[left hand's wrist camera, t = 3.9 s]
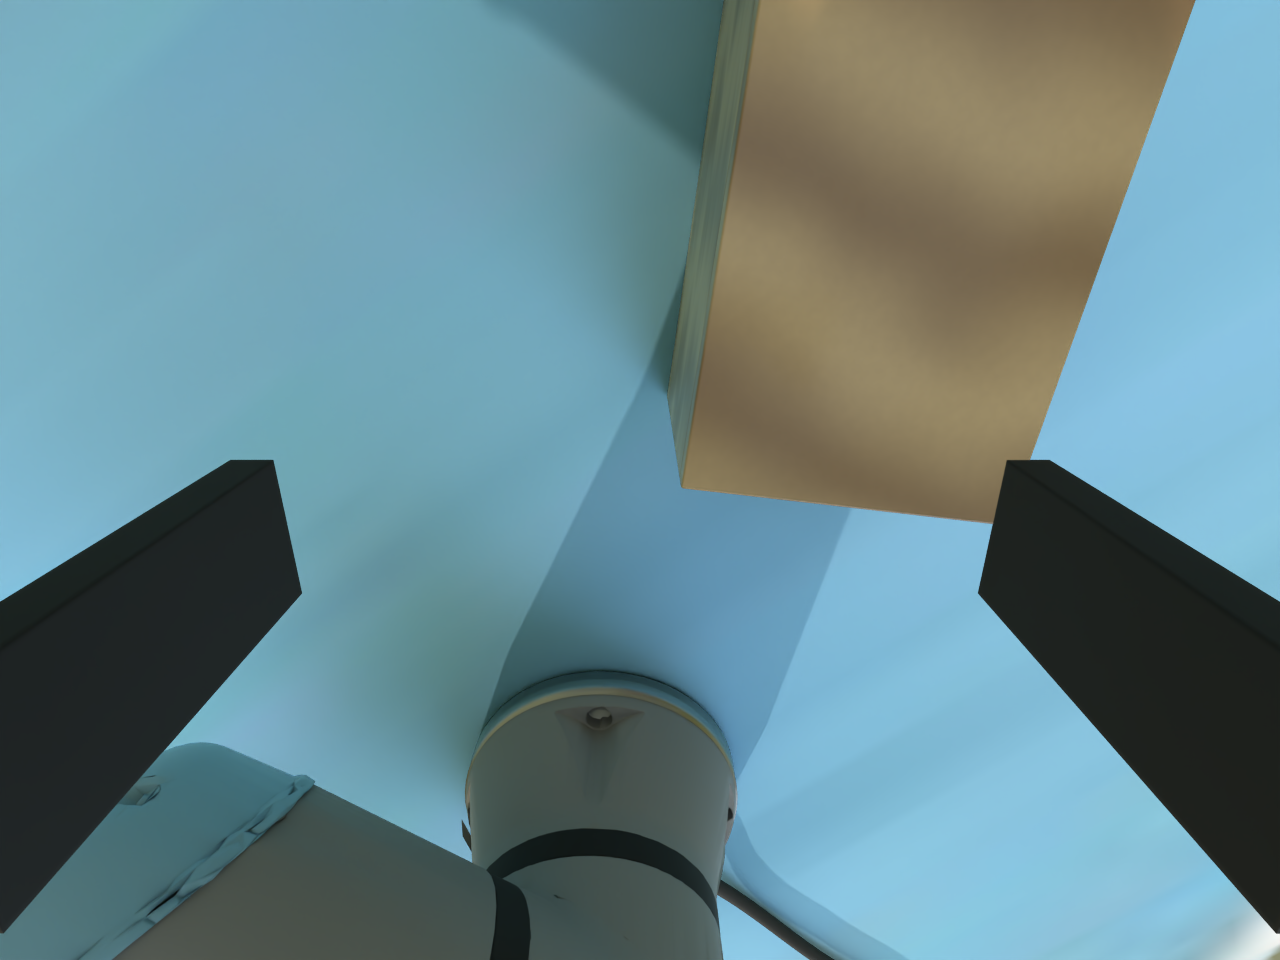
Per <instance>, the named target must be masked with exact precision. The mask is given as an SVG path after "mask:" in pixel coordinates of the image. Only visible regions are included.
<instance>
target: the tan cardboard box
mask: <svg viewBox="0 0 1280 960" xmlns="http://www.w3.org/2000/svg"><path fill="white" fill-rule="evenodd" d="M1194 3H1195V0H724V3H723V10H722V17H721V24H720V31H719V38H718V45H717V52H716V59H715V66H714V73H713V80H712V86H711V93H710V100H709V107H708V114H707V121H706V128H705V135H704V142H703V149H702V156H701V163H700V170H699V177H698V184H697V191H696V198H695V205H694V212H693V219H692V226H691V233H690V240H689V247H688V254H687V261H686V268H685V275H684V282H683V289H682V296H681V303H680V310H679V317H678V323H677V330H676V337H675V344H674V351H673V358H672V365H671V372H670V379H669V386H668V393H667V398H668V404H669V411H670V418H671V424H672V431H673V437H674V444H675V450H676V457H677V463H678V470H679V476H680V482H681V487H682V488H685V489H694V490H703V491H711V492H720V493H729V494H737V495H746V496H755V497H763V498H772V499H781V500H789V501H798V502H807V503H815V504H824V505H833V506H841V507H850V508H859V509H867V510H876V511H885V512H894V513H902V514H911V515H920V516H928V517H937V518H946V519H954V520H963V521H972V522H980V523H989V524H993V521H994V517H995V512H996V507H997V503H998V498H999V493H1000V489H1001V484H1002V479H1003V475H1004V470H1005V466H1006V461H1007V460H1030V458H1031V455H1032V453H1033V450H1034V447H1035V444H1036V441H1037V439H1038V436H1039V433H1040V430H1041V428H1042V425H1043V422H1044V419H1045V416H1046V414H1047V411H1048V408H1049V405H1050V403H1051V400H1052V397H1053V394H1054V391H1055V389H1056V386H1057V383H1058V380H1059V378H1060V375H1061V372H1062V369H1063V367H1064V364H1065V361H1066V358H1067V355H1068V353H1069V350H1070V347H1071V344H1072V342H1073V339H1074V336H1075V333H1076V330H1077V328H1078V325H1079V322H1080V319H1081V317H1082V314H1083V311H1084V308H1085V305H1086V303H1087V300H1088V297H1089V294H1090V292H1091V289H1092V286H1093V283H1094V280H1095V278H1096V275H1097V272H1098V269H1099V267H1100V264H1101V261H1102V258H1103V255H1104V253H1105V250H1106V247H1107V244H1108V242H1109V239H1110V236H1111V233H1112V231H1113V228H1114V225H1115V222H1116V219H1117V217H1118V214H1119V211H1120V208H1121V206H1122V203H1123V200H1124V197H1125V194H1126V192H1127V189H1128V186H1129V183H1130V181H1131V178H1132V175H1133V172H1134V169H1135V167H1136V164H1137V161H1138V158H1139V156H1140V153H1141V150H1142V147H1143V144H1144V142H1145V139H1146V136H1147V133H1148V131H1149V128H1150V125H1151V122H1152V119H1153V117H1154V114H1155V111H1156V108H1157V106H1158V103H1159V100H1160V97H1161V95H1162V92H1163V89H1164V86H1165V83H1166V81H1167V78H1168V75H1169V72H1170V70H1171V67H1172V64H1173V61H1174V58H1175V56H1176V53H1177V50H1178V47H1179V45H1180V42H1181V39H1182V36H1183V33H1184V31H1185V28H1186V25H1187V22H1188V20H1189V17H1190V14H1191V11H1192V8H1193V6H1194Z"/></svg>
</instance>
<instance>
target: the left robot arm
mask: <svg viewBox="0 0 1280 960" xmlns="http://www.w3.org/2000/svg"><path fill="white" fill-rule="evenodd" d="M301 594H302V591H301V586H300V581H299V577H298V572H297V568H296V563H295V558H294V554H293V549H292V544H291V540H290V535H289V530H288V526H287V521H286V517H285V512H284V507H283V503H282V498H281V493H280V489H279V484H278V479H277V475H276V470H275V466H274V461H273V460H230V461H228V462H226V463H225V464H223V465H222V466H220V467H218V468H217V469H215V470H213V471H212V472H210V473H209V474H207V475H205V476H204V477H202V478H200V479H199V480H197V481H196V482H194V483H192V484H191V485H189V486H187V487H186V488H184V489H183V490H181V491H179V492H178V493H176V494H174V495H173V496H171V497H170V498H168V499H166V500H165V501H163V502H161V503H160V504H158V505H157V506H155V507H153V508H152V509H150V510H148V511H147V512H145V513H144V514H142V515H140V516H139V517H137V518H135V519H134V520H132V521H131V522H129V523H127V524H126V525H124V526H122V527H121V528H119V529H118V530H116V531H114V532H113V533H111V534H109V535H108V536H106V537H105V538H103V539H101V540H100V541H98V542H96V543H95V544H93V545H92V546H90V547H88V548H87V549H85V550H83V551H82V552H80V553H79V554H77V555H75V556H74V557H72V558H70V559H69V560H67V561H66V562H64V563H62V564H61V565H59V566H58V567H56V568H54V569H53V570H51V571H49V572H48V573H46V574H45V575H43V576H41V577H40V578H38V579H36V580H35V581H33V582H32V583H30V584H28V585H27V586H25V587H23V588H22V589H20V590H19V591H17V592H15V593H14V594H12V595H10V596H9V597H7V598H6V599H4V600H2V601H1V602H0V960H723V953H722V945H721V938H720V928H719V919H718V910H717V901H716V898H717V895H718V896H720V897H722V898H723V899H725V900H727V901H728V902H730V903H731V904H733V905H735V906H736V907H738V908H739V909H740V910H742V911H743V912H745V913H746V914H748V915H749V916H750V917H752V918H753V919H755V920H756V921H757V922H759V923H760V924H762V925H763V926H764V927H766V928H767V929H768V930H770V931H771V932H772V933H774V934H775V935H776V936H778V937H779V938H780V939H782V940H783V941H784V942H786V943H787V944H788V945H790V946H791V947H793V948H794V949H795V950H797V951H798V952H799V953H801V954H802V955H804V956H805V957H806V958H808V959H809V960H834V959H832V958H831V957H829V956H828V955H826V954H824V953H823V952H821V951H820V950H819V949H817V948H816V947H814V946H813V945H811V944H810V943H809V942H807V941H806V940H804V939H803V938H802V937H800V936H799V935H798V934H796V933H795V932H794V931H792V930H791V929H790V928H788V927H787V926H786V925H784V924H783V923H782V922H780V921H779V920H778V919H776V918H775V917H774V916H772V915H771V914H770V913H768V912H767V911H766V910H764V909H763V908H762V907H760V906H759V905H757V904H756V903H755V902H753V901H752V900H750V899H749V898H748V897H746V896H745V895H743V894H742V893H740V892H739V891H738V890H736V889H735V888H733V887H731V886H730V885H728V884H727V883H725V882H723V881H722V880H721V875H722V870H723V864H724V857H725V845H726V843H727V841H728V838H729V836H730V833H731V830H732V826H733V822H734V818H735V815H736V809H737V786H736V780H735V774H734V768H733V762H732V757H731V753H730V749H729V747H728V744H727V741H726V739H725V737H724V735H723V733H722V732H721V730H720V728H719V727H718V726H717V724H716V723H715V721H714V720H713V719H712V718H711V717H710V716H709V714H708V713H707V712H706V711H705V710H704V709H703V708H701V707H700V706H699V705H698V704H697V703H695V702H694V701H693V700H692V699H690V698H689V697H687V696H686V695H684V694H682V693H681V692H679V691H677V690H675V689H673V688H671V687H669V686H667V685H665V684H663V683H660V682H657V681H655V680H652V679H648V678H645V677H642V676H637V675H632V674H627V673H619V672H604V671H599V672H582V673H574V674H569V675H564V676H560V677H556V678H553V679H549V680H546V681H544V682H541V683H539V684H536V685H534V686H532V687H530V688H528V689H526V690H524V691H523V692H521V693H519V694H518V695H516V696H515V697H513V698H512V699H511V700H509V701H508V702H507V703H505V704H504V705H503V706H502V707H501V708H500V709H499V710H498V711H497V712H496V713H495V714H494V715H493V717H492V718H491V719H490V720H489V722H488V723H487V725H486V726H485V728H484V729H483V731H482V733H481V735H480V737H479V739H478V742H477V745H476V748H475V751H474V754H473V757H472V761H471V764H470V767H469V771H468V775H467V779H466V786H465V802H466V808H467V813H468V819H469V825H470V828H471V835H470V833H469V832H468V830H467V828H466V826H465V824H464V823H463V821H462V832H463V837H464V839H465V841H466V843H467V844H468V846H469V848H470V850H471V852H472V863H471V862H469V861H467V860H465V859H463V858H461V857H459V856H457V855H455V854H453V853H451V852H449V851H447V850H445V849H443V848H441V847H439V846H437V845H435V844H433V843H431V842H429V841H427V840H425V839H423V838H421V837H419V836H417V835H415V834H413V833H411V832H409V831H407V830H405V829H403V828H401V827H399V826H397V825H395V824H393V823H391V822H389V821H386V820H384V819H382V818H380V817H378V816H376V815H374V814H372V813H370V812H368V811H366V810H364V809H362V808H360V807H358V806H356V805H354V804H352V803H350V802H348V801H346V800H344V799H342V798H340V797H338V796H336V795H334V794H332V793H330V792H328V791H326V790H324V789H322V788H320V787H318V786H316V785H314V783H315V781H314V780H313V779H311V778H310V777H308V776H307V775H297V776H293V775H290V774H288V773H285V772H283V771H281V770H278V769H276V768H274V767H271V766H269V765H267V764H264V763H262V762H260V761H257V760H255V759H253V758H250V757H248V756H246V755H243V754H241V753H239V752H236V751H234V750H232V749H229V748H227V747H225V746H221V745H217V744H213V743H201V742H200V743H190V744H185V745H181V746H176V747H174V748H171V749H168V750H166V751H164V750H165V749H166V748H167V747H168V746H169V744H170V743H171V742H172V741H173V740H174V739H175V738H176V736H177V735H178V734H179V733H180V732H181V731H182V730H183V728H184V727H185V726H186V725H187V724H188V723H189V722H190V720H191V719H192V718H193V717H194V716H195V715H196V714H197V712H198V711H199V710H200V709H201V708H202V707H203V706H204V705H205V703H206V702H207V701H208V700H209V699H210V698H211V697H212V695H213V694H214V693H215V692H216V691H217V690H218V689H219V687H220V686H221V685H222V684H223V683H224V682H225V681H226V679H227V678H228V677H229V676H230V675H231V674H232V673H233V671H234V670H235V669H236V668H237V667H238V666H239V665H240V663H241V662H242V661H243V660H244V659H245V658H246V657H247V655H248V654H249V653H250V652H251V651H252V650H253V649H254V647H255V646H256V645H257V644H258V643H259V642H260V641H261V639H262V638H263V637H264V636H265V635H266V634H267V633H268V632H269V630H270V629H271V628H272V627H273V626H274V625H275V624H276V622H277V621H278V620H279V619H280V618H281V617H282V616H283V614H284V613H285V612H286V611H287V610H288V609H289V608H290V606H291V605H292V604H293V603H294V602H295V601H296V600H297V598H298V597H299V596H300V595H301ZM978 594H979V595H980V596H981V597H982V598H983V600H984V601H985V602H986V603H987V604H988V605H989V606H990V608H991V609H992V610H993V611H994V612H995V613H996V614H997V616H998V617H999V618H1000V619H1001V620H1002V621H1003V622H1004V624H1005V625H1006V626H1007V627H1008V628H1009V629H1010V630H1011V632H1012V633H1013V634H1014V635H1015V636H1016V637H1017V638H1018V639H1019V641H1020V642H1021V643H1022V644H1023V645H1024V646H1025V647H1026V649H1027V650H1028V651H1029V652H1030V653H1031V654H1032V655H1033V657H1034V658H1035V659H1036V660H1037V661H1038V662H1039V663H1040V665H1041V666H1042V667H1043V668H1044V669H1045V670H1046V671H1047V673H1048V674H1049V675H1050V676H1051V677H1052V678H1053V679H1054V681H1055V682H1056V683H1057V684H1058V685H1059V686H1060V687H1061V689H1062V690H1063V691H1064V692H1065V693H1066V694H1067V695H1068V697H1069V698H1070V699H1071V700H1072V701H1073V702H1074V703H1075V704H1076V706H1077V707H1078V708H1079V709H1080V710H1081V711H1082V712H1083V714H1084V715H1085V716H1086V717H1087V718H1088V719H1089V720H1090V722H1091V723H1092V724H1093V725H1094V726H1095V727H1096V728H1097V730H1098V731H1099V732H1100V733H1101V734H1102V735H1103V736H1104V738H1105V739H1106V740H1107V741H1108V742H1109V743H1110V744H1111V746H1112V747H1113V748H1114V749H1115V750H1116V751H1117V752H1118V754H1119V755H1120V756H1121V757H1122V758H1123V759H1124V760H1125V762H1126V763H1127V764H1128V765H1129V766H1130V767H1131V768H1132V770H1133V771H1134V772H1135V773H1136V774H1137V775H1138V776H1139V777H1140V779H1141V780H1142V781H1143V782H1144V783H1145V784H1146V785H1147V787H1148V788H1149V789H1150V790H1151V791H1152V792H1153V793H1154V795H1155V796H1156V797H1157V798H1158V799H1159V800H1160V801H1161V803H1162V804H1163V805H1164V806H1165V807H1166V808H1167V809H1168V811H1169V812H1170V813H1171V814H1172V815H1173V816H1174V817H1175V819H1176V820H1177V821H1178V822H1179V823H1180V824H1181V825H1182V827H1183V828H1184V829H1185V830H1186V831H1187V832H1188V833H1189V835H1190V836H1191V837H1192V838H1193V839H1194V840H1195V841H1196V843H1197V844H1198V845H1199V846H1200V847H1201V848H1202V849H1203V850H1204V852H1205V853H1206V854H1207V855H1208V856H1209V857H1210V858H1211V860H1212V861H1213V862H1214V863H1215V864H1216V865H1217V866H1218V868H1219V869H1220V870H1221V871H1222V872H1223V873H1224V874H1225V876H1226V877H1227V878H1228V879H1229V880H1230V881H1231V882H1232V884H1233V885H1234V886H1235V887H1236V888H1237V889H1238V890H1239V892H1240V893H1241V894H1242V895H1243V896H1244V897H1245V898H1246V900H1247V901H1248V902H1249V903H1250V904H1251V905H1252V906H1253V908H1254V909H1255V910H1256V911H1257V912H1258V913H1259V914H1260V916H1261V917H1262V918H1263V919H1264V920H1265V921H1266V922H1267V923H1268V925H1269V926H1270V927H1271V928H1272V929H1273V930H1274V931H1275V933H1276V934H1280V602H1279V601H1278V600H1276V599H1274V598H1273V597H1271V596H1270V595H1268V594H1266V593H1265V592H1263V591H1261V590H1260V589H1258V588H1257V587H1255V586H1253V585H1252V584H1250V583H1248V582H1247V581H1245V580H1244V579H1242V578H1240V577H1239V576H1237V575H1235V574H1234V573H1232V572H1231V571H1229V570H1227V569H1226V568H1224V567H1222V566H1221V565H1219V564H1218V563H1216V562H1214V561H1213V560H1211V559H1210V558H1208V557H1206V556H1205V555H1203V554H1201V553H1200V552H1198V551H1197V550H1195V549H1193V548H1192V547H1190V546H1188V545H1187V544H1185V543H1184V542H1182V541H1180V540H1179V539H1177V538H1175V537H1174V536H1172V535H1171V534H1169V533H1167V532H1166V531H1164V530H1162V529H1161V528H1159V527H1158V526H1156V525H1154V524H1153V523H1151V522H1149V521H1148V520H1146V519H1145V518H1143V517H1141V516H1140V515H1138V514H1136V513H1135V512H1133V511H1132V510H1130V509H1128V508H1127V507H1125V506H1123V505H1122V504H1120V503H1119V502H1117V501H1115V500H1114V499H1112V498H1110V497H1109V496H1107V495H1106V494H1104V493H1102V492H1101V491H1099V490H1097V489H1096V488H1094V487H1093V486H1091V485H1089V484H1088V483H1086V482H1084V481H1083V480H1081V479H1080V478H1078V477H1076V476H1075V475H1073V474H1071V473H1070V472H1068V471H1067V470H1065V469H1063V468H1062V467H1060V466H1058V465H1057V464H1055V463H1054V462H1052V461H1050V460H1007V461H1006V466H1005V470H1004V475H1003V479H1002V484H1001V489H1000V493H999V498H998V503H997V507H996V512H995V517H994V521H993V526H992V530H991V535H990V540H989V544H988V549H987V554H986V558H985V563H984V568H983V572H982V577H981V581H980V586H979V591H978Z"/></svg>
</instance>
